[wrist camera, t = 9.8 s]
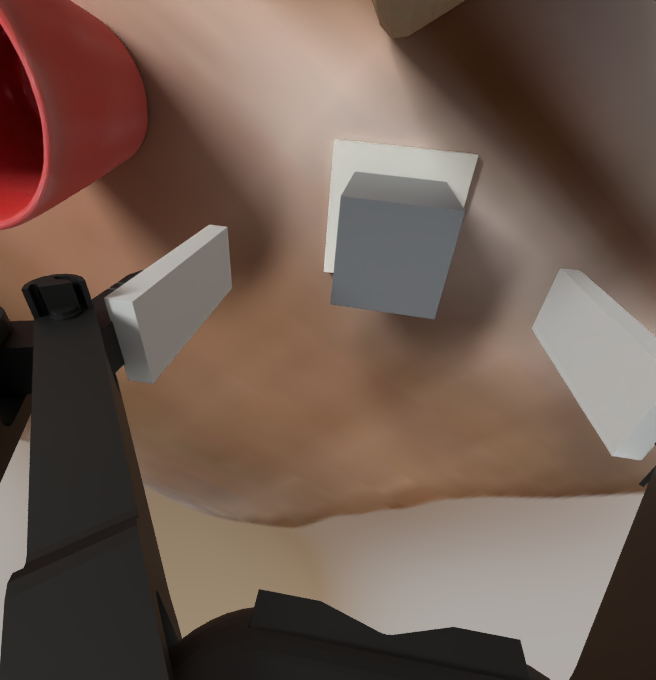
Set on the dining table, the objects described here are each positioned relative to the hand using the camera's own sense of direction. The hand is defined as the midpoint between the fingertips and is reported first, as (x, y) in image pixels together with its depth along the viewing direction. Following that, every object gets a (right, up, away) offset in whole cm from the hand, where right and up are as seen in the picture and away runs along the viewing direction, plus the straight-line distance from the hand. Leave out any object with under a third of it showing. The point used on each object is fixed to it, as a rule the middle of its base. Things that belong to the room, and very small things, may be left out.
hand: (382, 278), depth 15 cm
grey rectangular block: (+2, +5, +7) cm, 9 cm away
